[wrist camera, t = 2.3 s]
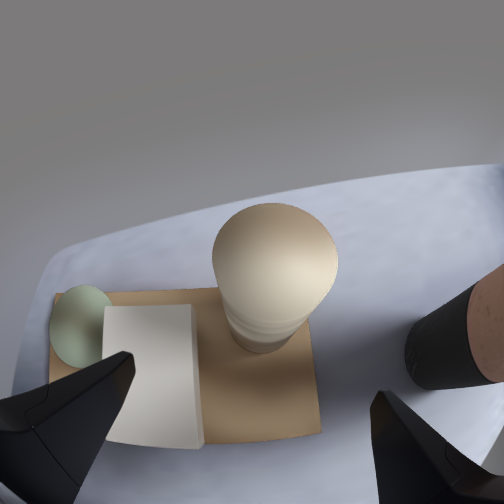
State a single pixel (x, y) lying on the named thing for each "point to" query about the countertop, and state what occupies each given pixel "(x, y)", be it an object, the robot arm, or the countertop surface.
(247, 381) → the wooden board
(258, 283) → the roller
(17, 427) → the robot arm
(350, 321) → the countertop surface
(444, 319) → the travel mug
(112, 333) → the slab
